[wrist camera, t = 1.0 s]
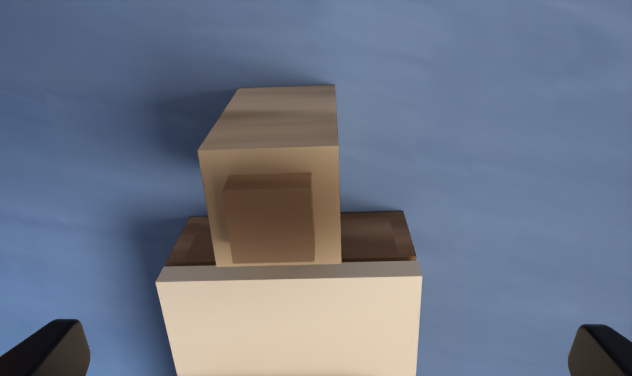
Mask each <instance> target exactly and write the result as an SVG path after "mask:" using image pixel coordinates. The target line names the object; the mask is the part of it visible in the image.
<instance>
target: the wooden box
mask: <svg viewBox="0 0 632 376" xmlns="http://www.w3.org/2000/svg"><path fill="white" fill-rule="evenodd" d="M340 223H341V262H382V261H416V253H415V250H414V246H413V243H412V240H411V236H410V233H409V229H408V226H407V223H406V219H405V216H404V212H403V211H387V212H351V213H340ZM166 265H167V267H171V266H213V265H216V261H215V255H214V249H213V242H212V236H211V230H210V224H209V218H208V216H206V217H189V219H188V221H187V223H186V225H185V227H184V229H183V231H182V233H181V235H180V236H179V238H178V240H177V242H176V244H175V246H174V248H173V250H172V252H171V254H170V255H169V257H168V259H167V261H166Z"/></svg>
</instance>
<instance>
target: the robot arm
mask: <svg viewBox="0 0 632 376" xmlns="http://www.w3.org/2000/svg"><path fill="white" fill-rule="evenodd" d="M89 363H90V349H89V346H88V343H87V340H86V336H85V333H84V330H83V327H82V324H81V322H80V321H79V320H76V319H56V320H53V321H51V322H50V323H48V324H47V325H45V326H44V327H42V328H41V329H40V330H38V331H37V332H35V333H34V334H32V335H31V336H29V337H28V338H27V339H25V340H24V341H22V342H21V343H19V344H18V345H16V346H15V347H14V348H12V349H11V350H9V351H8V352H6V353H5V354H3V355H2V356H1V357H0V376H86V373H87V370H88V367H89ZM568 367H569V371H570V374H571V376H632V342H631V341H629V340H628V339H627V338H625V337H624V336H622V335H621V334H619V333H618V332H616V331H615V330H613V329H612V328H610V327H609V326H606V325H602V324H584V325H581V326H580V327H579V328H578V331H577V333H576V336H575V339H574V342H573V344H572V347H571V350H570V353H569V356H568Z"/></svg>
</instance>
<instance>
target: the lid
mask: <svg viewBox="0 0 632 376" xmlns="http://www.w3.org/2000/svg"><path fill="white" fill-rule="evenodd" d="M341 263H342V264H317V265H276V266H235V267H216V265H213V266H171V267H163V269H162V271H161V273H160V274H159V276H158V278H157V280H156V287H157V291H158V295H159V299H160V304H161V308H162V312H163V317H164V321H165V325H166V329H167V334H168V338H169V342H170V346H171V351H172V355H173V359H174V363H175V368H176V372H177V376H416V365H417V349H418V334H419V319H420V303H421V288H422V274H421V270H420V267H419V263H418V261H382V262H341Z"/></svg>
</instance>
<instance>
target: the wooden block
mask: <svg viewBox="0 0 632 376" xmlns="http://www.w3.org/2000/svg"><path fill="white" fill-rule="evenodd" d="M198 157H199V163H200V169H201V175H202V181H203V187H204V193H205V199H206V206H207V212H208V218H209V224H210V230H211V236H212V242H213V249H214V255H215V261H216V267H235V266H276V265H317V264H342V263H341V223H340V182H339V144H338V128H337V111H336V95H335V85H314V86H288V87H262V88H238V90H237V91H236V93H235V94H234V96H233V97H232V99H231V101H230V102H229V104H228V105H227V107H226V108H225V110H224V111H223V113H222V114H221V116H220V117H219V119H218V120H217V122H216V123H215V125H214V126H213V128H212V129H211V131H210V132H209V134H208V135H207V137H206V138H205V140H204V141H203V143H202V144H201V146H200V147H199V149H198Z"/></svg>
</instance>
